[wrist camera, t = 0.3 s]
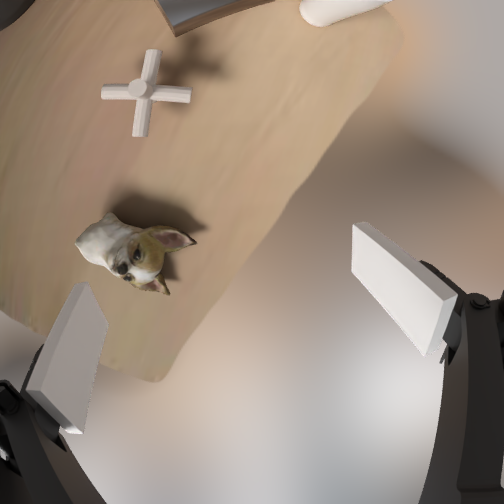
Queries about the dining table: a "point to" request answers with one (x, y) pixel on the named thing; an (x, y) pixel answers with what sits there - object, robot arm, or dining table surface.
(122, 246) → the ceramic sculpture
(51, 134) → the dining table surface
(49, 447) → the robot arm
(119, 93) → the pipe connector
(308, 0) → the drinking glass
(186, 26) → the block
